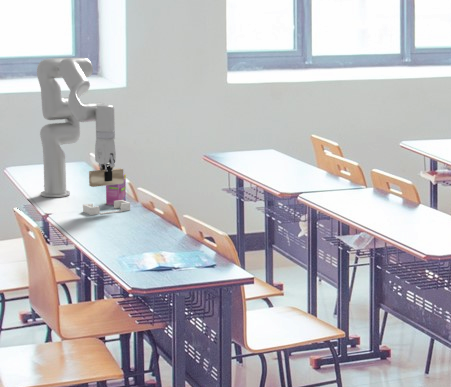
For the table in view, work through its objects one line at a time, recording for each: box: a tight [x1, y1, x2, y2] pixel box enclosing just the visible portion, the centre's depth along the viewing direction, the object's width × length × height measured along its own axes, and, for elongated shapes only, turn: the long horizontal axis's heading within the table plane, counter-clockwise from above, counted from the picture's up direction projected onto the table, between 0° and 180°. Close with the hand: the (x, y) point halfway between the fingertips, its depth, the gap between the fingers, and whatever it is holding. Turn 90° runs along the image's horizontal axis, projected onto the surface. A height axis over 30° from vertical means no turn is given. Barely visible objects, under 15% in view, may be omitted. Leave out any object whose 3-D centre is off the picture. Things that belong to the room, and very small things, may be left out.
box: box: [105, 173, 127, 206], centre depth 431 cm, size 10×6×12 cm, turn 168°
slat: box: [88, 167, 124, 188], centre depth 413 cm, size 3×14×6 cm, turn 124°
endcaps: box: [82, 200, 131, 216], centre depth 415 cm, size 8×18×3 cm, turn 123°
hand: (106, 180), depth 413 cm, fingers closed on slat, 2 cm apart
